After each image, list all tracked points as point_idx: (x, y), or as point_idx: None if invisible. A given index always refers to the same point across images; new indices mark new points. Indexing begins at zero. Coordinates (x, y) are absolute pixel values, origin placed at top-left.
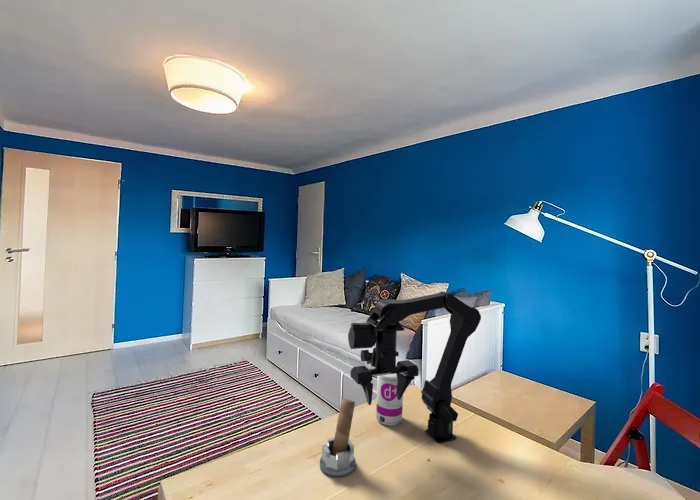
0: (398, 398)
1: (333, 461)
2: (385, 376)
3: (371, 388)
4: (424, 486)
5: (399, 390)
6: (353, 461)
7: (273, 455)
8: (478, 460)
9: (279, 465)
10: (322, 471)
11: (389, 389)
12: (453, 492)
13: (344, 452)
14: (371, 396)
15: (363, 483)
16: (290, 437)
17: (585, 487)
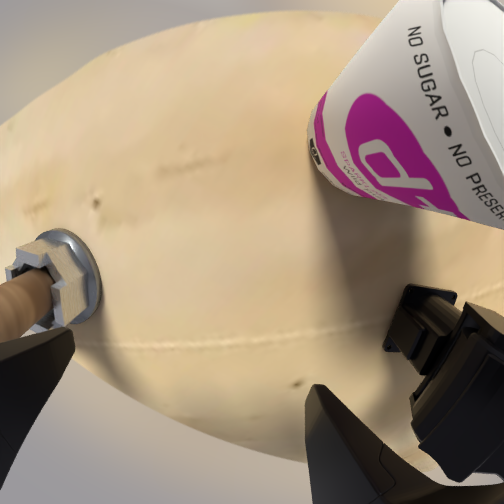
0: (308, 404)
1: None
2: (474, 88)
3: (4, 461)
4: (216, 424)
5: (320, 460)
6: (88, 306)
7: None
8: (385, 415)
9: None
10: None
11: (409, 178)
12: (256, 448)
13: (40, 330)
14: (37, 410)
15: (99, 355)
16: (25, 108)
17: (416, 466)
